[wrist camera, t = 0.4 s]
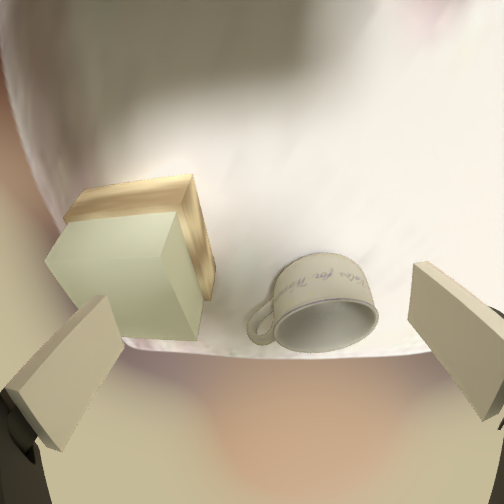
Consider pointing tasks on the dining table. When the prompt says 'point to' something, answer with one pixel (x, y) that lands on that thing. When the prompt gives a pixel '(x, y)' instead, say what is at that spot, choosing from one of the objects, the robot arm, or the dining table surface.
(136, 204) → the tower base
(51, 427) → the robot arm
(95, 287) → the tower top
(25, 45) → the dining table surface
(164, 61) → the dining table surface
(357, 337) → the teacup
